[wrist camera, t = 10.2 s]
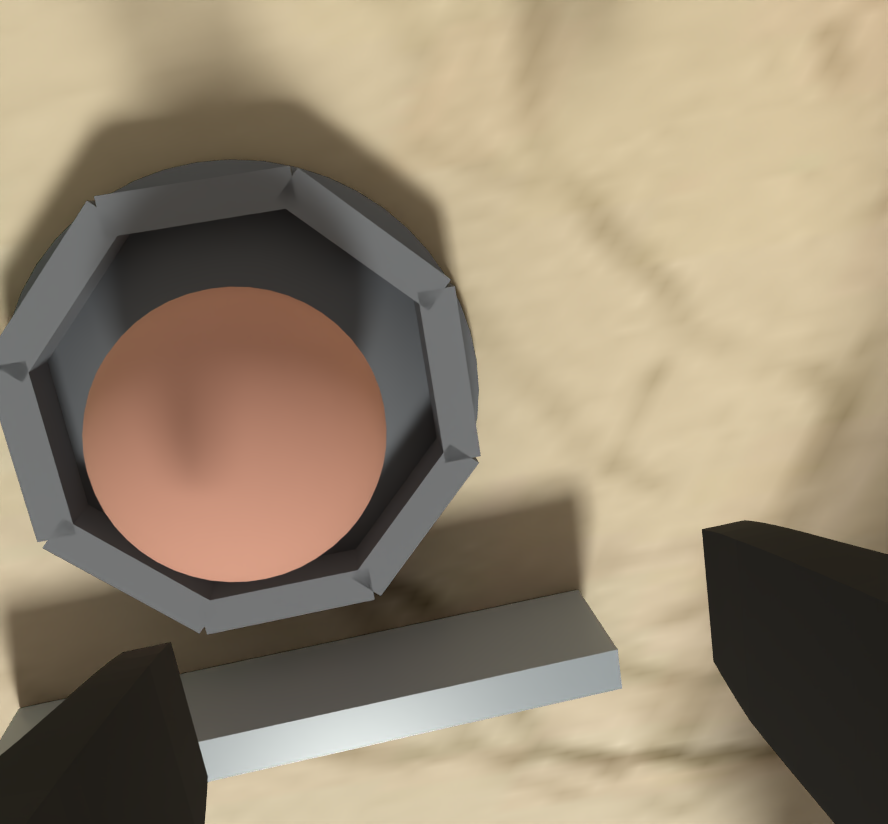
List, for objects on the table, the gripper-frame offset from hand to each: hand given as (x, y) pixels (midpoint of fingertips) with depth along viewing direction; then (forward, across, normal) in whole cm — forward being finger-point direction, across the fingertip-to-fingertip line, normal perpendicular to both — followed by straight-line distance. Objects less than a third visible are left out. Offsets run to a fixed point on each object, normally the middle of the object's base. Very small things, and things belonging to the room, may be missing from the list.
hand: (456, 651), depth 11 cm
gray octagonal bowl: (+9, +3, -2) cm, 10 cm away
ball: (+9, +3, -2) cm, 10 cm away
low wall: (+9, +3, +5) cm, 11 cm away
